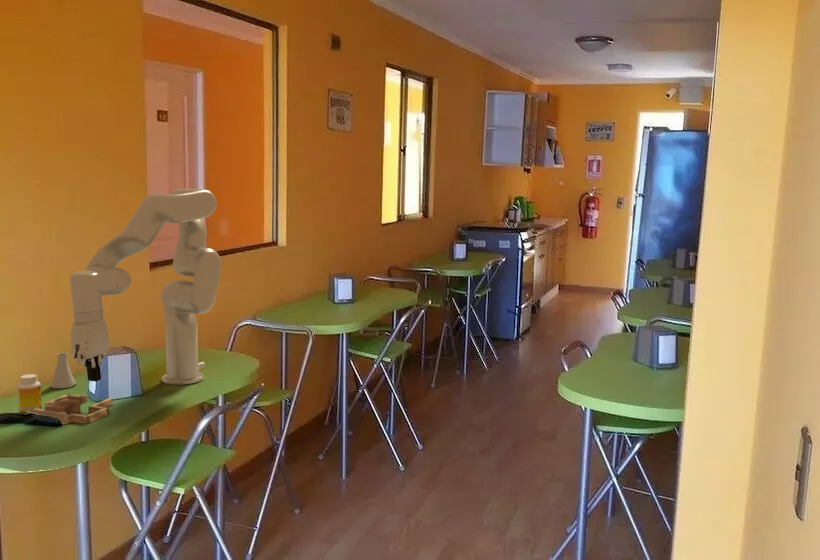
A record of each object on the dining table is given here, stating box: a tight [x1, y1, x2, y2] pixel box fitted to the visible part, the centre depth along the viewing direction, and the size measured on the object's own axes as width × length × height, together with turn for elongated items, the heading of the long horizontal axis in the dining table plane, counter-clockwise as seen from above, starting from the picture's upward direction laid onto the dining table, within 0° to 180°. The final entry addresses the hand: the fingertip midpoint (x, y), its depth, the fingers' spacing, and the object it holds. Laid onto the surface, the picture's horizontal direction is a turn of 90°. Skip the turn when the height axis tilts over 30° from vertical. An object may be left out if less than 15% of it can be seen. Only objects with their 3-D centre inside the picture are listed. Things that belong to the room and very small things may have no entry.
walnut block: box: [44, 399, 82, 415], centre depth 195 cm, size 7×5×4 cm
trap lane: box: [33, 393, 114, 426], centre depth 199 cm, size 18×19×3 cm
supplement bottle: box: [16, 373, 43, 414], centre depth 198 cm, size 6×6×10 cm
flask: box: [49, 352, 77, 389], centre depth 223 cm, size 7×7×10 cm
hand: (94, 380), depth 206 cm, fingers closed
